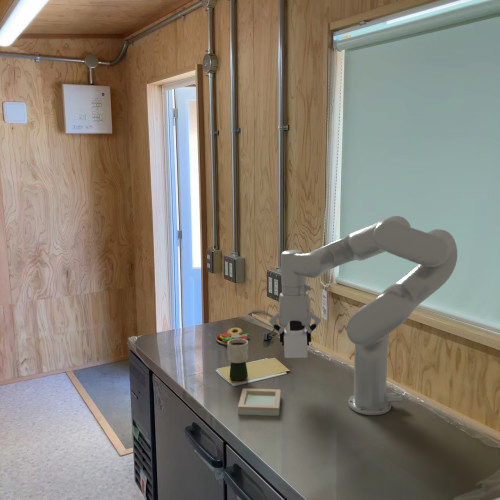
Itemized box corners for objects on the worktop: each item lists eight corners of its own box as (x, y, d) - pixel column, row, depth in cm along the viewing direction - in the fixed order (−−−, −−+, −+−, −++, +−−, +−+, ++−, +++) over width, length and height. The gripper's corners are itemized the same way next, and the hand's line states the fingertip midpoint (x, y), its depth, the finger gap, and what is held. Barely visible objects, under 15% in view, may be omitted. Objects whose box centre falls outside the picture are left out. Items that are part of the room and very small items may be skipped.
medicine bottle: (307, 349, 171) (306, 314, 168) (307, 358, 164) (306, 321, 161) (285, 350, 171) (283, 314, 169) (284, 358, 164) (283, 321, 162)
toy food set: (237, 333, 225) (237, 325, 224) (255, 341, 214) (255, 334, 214) (210, 339, 218) (210, 332, 217) (227, 349, 207) (227, 341, 206)
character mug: (255, 382, 177) (254, 345, 174) (235, 386, 174) (234, 349, 171) (241, 370, 186) (240, 335, 184) (223, 374, 183) (221, 338, 181)
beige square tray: (280, 396, 166) (280, 389, 165) (278, 415, 154) (278, 407, 153) (242, 395, 167) (242, 388, 166) (238, 414, 155) (238, 406, 155)
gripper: (321, 286, 166) (322, 339, 170) (266, 287, 168) (269, 340, 171) (322, 292, 159) (323, 348, 162) (265, 293, 161) (267, 348, 164)
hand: (295, 343), depth 167 cm, fingers closed on medicine bottle, 7 cm apart
